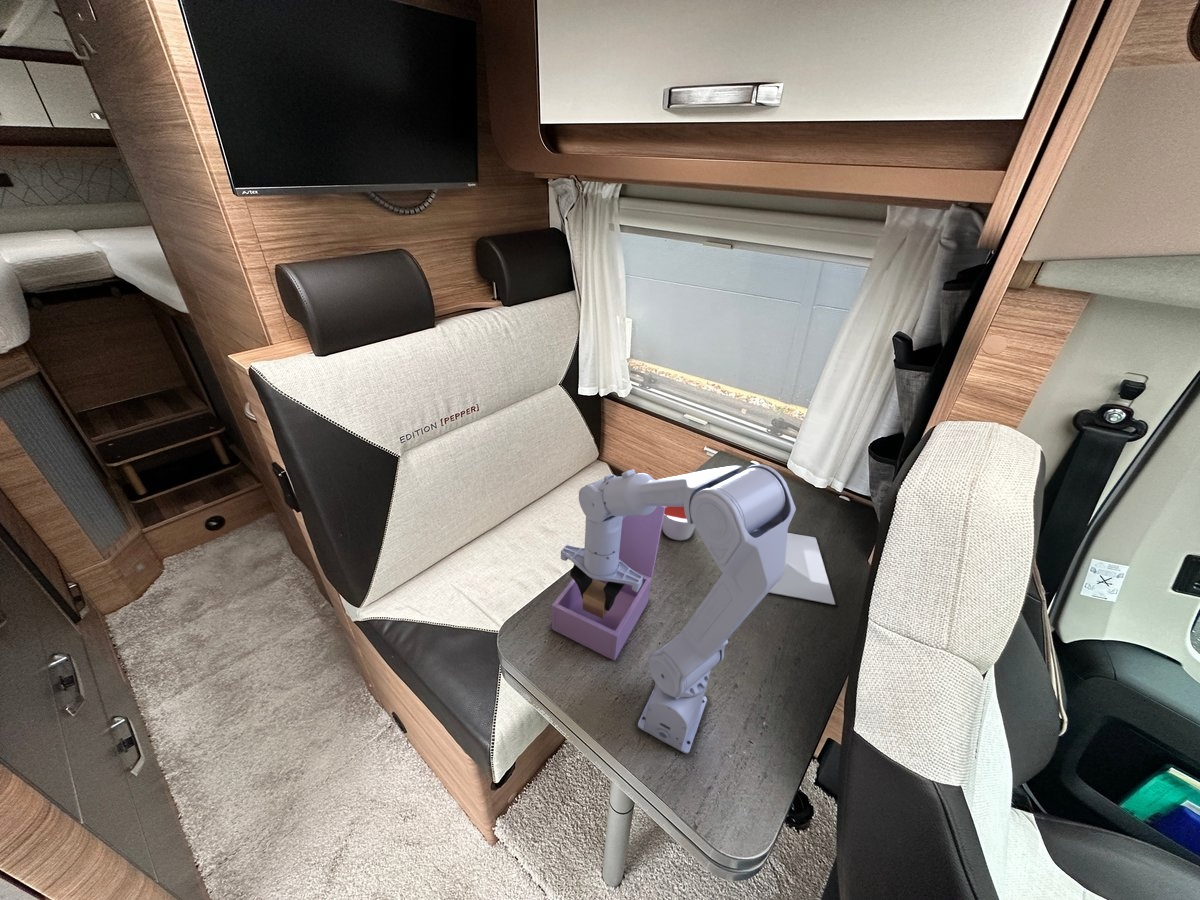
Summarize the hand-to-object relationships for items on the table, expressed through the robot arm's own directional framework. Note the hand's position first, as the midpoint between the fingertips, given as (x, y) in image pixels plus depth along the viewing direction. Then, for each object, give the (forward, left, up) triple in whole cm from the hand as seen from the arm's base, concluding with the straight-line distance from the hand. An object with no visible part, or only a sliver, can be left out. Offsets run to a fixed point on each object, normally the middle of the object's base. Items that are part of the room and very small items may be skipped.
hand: (598, 601), depth 82 cm
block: (0, 0, -1) cm, 1 cm away
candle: (+32, -4, -6) cm, 33 cm away
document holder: (+34, -26, -6) cm, 43 cm away
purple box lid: (+10, 0, +9) cm, 13 cm away
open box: (+2, 0, -6) cm, 6 cm away
